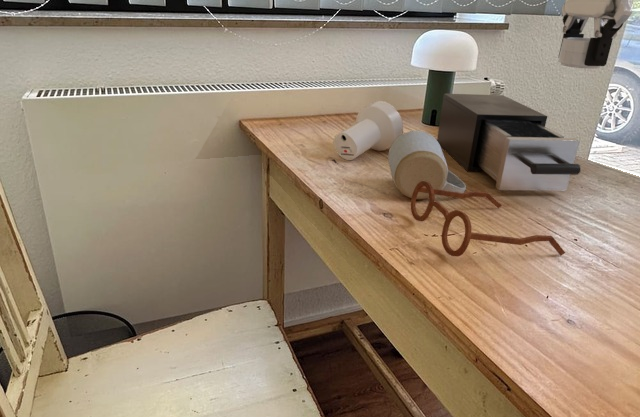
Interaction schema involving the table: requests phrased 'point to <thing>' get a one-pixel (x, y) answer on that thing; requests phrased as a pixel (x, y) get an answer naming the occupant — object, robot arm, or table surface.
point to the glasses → (467, 220)
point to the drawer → (526, 155)
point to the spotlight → (370, 131)
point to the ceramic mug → (420, 165)
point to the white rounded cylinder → (574, 52)
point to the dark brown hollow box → (476, 122)
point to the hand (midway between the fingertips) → (581, 61)
